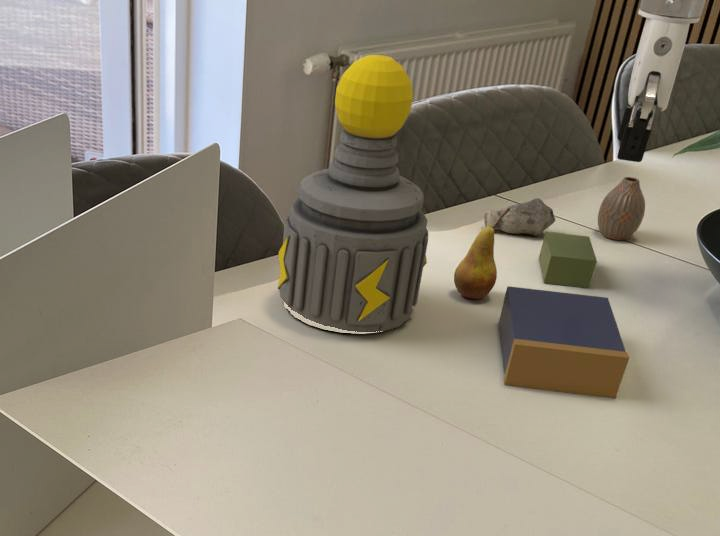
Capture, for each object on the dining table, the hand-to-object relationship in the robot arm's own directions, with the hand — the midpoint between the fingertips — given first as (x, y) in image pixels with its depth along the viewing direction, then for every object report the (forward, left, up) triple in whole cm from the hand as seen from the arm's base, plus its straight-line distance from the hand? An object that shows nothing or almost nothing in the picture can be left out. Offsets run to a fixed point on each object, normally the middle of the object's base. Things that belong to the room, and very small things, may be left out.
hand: (628, 150), depth 136 cm
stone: (+10, -15, -18) cm, 26 cm away
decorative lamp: (+35, +22, -18) cm, 45 cm away
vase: (-6, -19, -18) cm, 27 cm away
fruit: (+18, +13, -18) cm, 28 cm away
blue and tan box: (+8, +30, -18) cm, 35 cm away
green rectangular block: (+4, 0, -18) cm, 18 cm away
